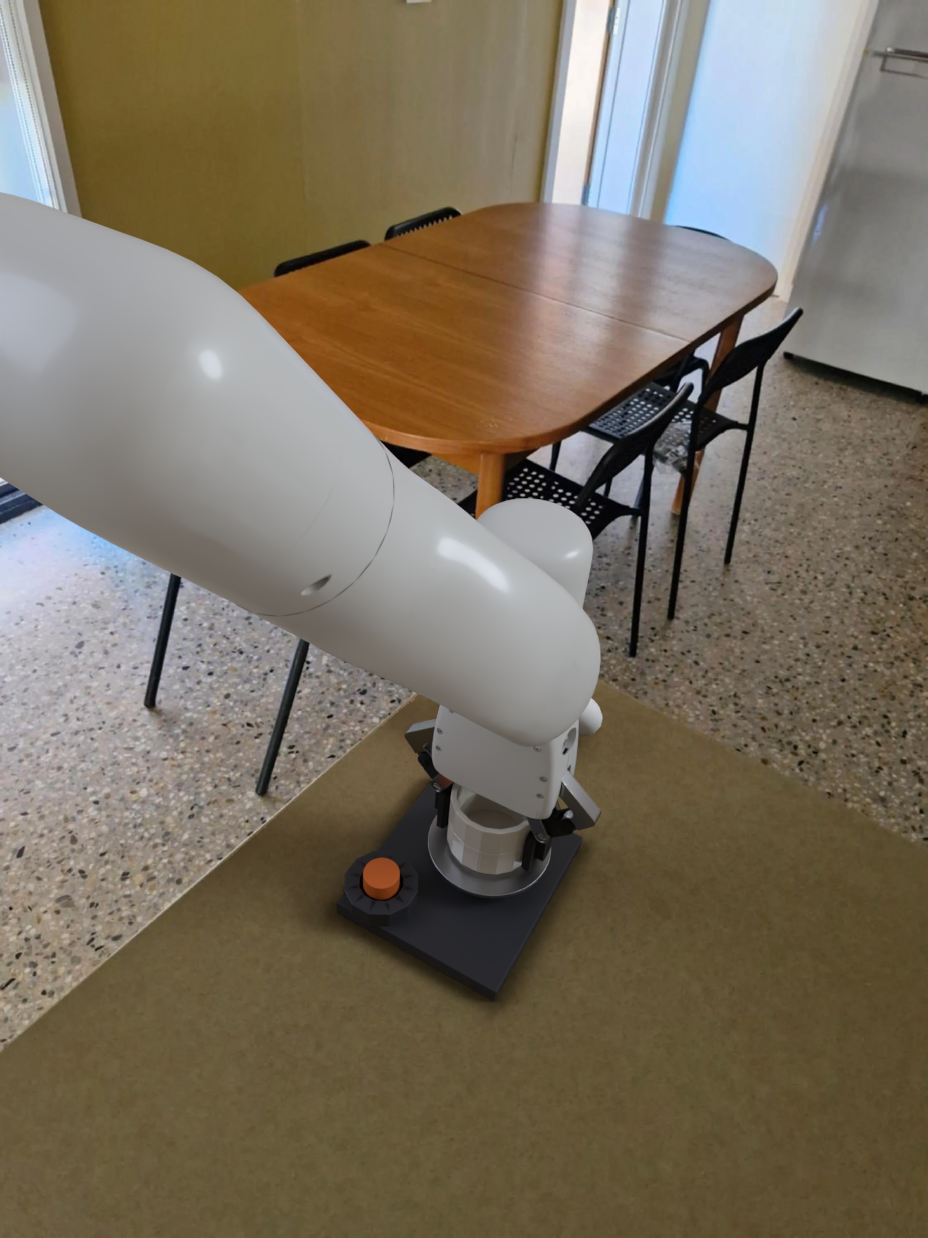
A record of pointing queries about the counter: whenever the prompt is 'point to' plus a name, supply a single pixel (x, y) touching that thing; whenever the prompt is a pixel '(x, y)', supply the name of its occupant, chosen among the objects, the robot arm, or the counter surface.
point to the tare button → (381, 878)
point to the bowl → (485, 832)
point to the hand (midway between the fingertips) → (490, 835)
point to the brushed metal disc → (474, 880)
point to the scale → (451, 907)
